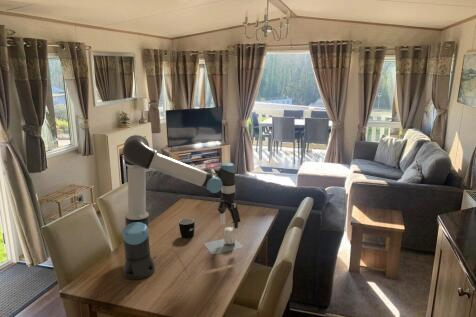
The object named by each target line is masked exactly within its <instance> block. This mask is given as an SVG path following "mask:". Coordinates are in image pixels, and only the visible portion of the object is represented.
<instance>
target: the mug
mask: <svg viewBox="0 0 476 317" xmlns="http://www.w3.org/2000/svg"><path fill="white" fill-rule="evenodd" d="M195 224H196V223H195V219H193V218H190V217H187V218H181V219H179V221H178V226H179V233H180V236H181V238H183V239H190V238H193V237H194V235H195V228H196V227H195Z"/></svg>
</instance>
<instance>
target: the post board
mask: <svg viewBox="0 0 476 317" xmlns="http://www.w3.org/2000/svg"><path fill="white" fill-rule="evenodd" d="M203 245H205V247H206V248H207V250H208V251H209V252H210V254H211V255H217V254H221V253H225V252H228V251H229V252H230V251H233V250H238V249H241V248H244V246H243V244H241V243H240V242H239V241H238V240H237V239H236V241H235V243H231V244H227V243H225V242H224V238H222V239H217V240H213V241H208V242H203Z"/></svg>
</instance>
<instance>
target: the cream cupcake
mask: <svg viewBox="0 0 476 317" xmlns="http://www.w3.org/2000/svg"><path fill="white" fill-rule="evenodd" d="M223 239H224V242H225V243H227V244H231V243H235V241H236V240H237V239H236V234H233V226H232V227H231V226H229V227H228V226H226V227H225V228H223Z"/></svg>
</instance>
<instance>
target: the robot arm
mask: <svg viewBox="0 0 476 317" xmlns="http://www.w3.org/2000/svg"><path fill="white" fill-rule="evenodd" d="M122 156H123V160H124V162H123V163H124V165H125V166H126V167H127V206H128V207H127V208H128V209H127V210H128V211H127V213H125V215H124V217H125V218H124V221H125V223H124V224H125V226H124V227H123V229H122V235H121V236H122V240H123V249H124V256H125V260H124V264H123V268H122V274H123V276H124V278H126V279H128V280H135V281H136V280H137V281H138V280H142V279H146V278H148V277H150V276H151V275H153V274H154V273H155V271H156V265H155V262H154V259H153V257H152V255H151V250H150V249H151V248H150V216H149V215H150V214H149V212H148V211H147V203H146V202H147V201H146V199H147V195H146V192H147V191H146V190H147V189H146V182H147V181H146V180H147V179H146V176H147V175H146V171H147V170H150V169H153V170H156V171H158V172H160V173H164V174H166V175H169V176H171V177H174V178H177V179H180V180H182V181H185V182H187V183H191V184H193V185H196V186H199V187H202V188H204V189H207V191H209V192H210V193H212V194H216V193H219V192H220V191H221V195H220V200H219V205H218V208H217V210H218V212H219V214H220V226H222V225H226V210H228V212H229V213H230V216H231V218H232V227H233V234H235V235H236V234H238V233H239V229H238V228H239V223H240V222H241V218H240V217H241V216H240V213H239V209H238V204H237V202H236V203H234V200H236V168H235V167H236V166H235V164H234V163H232V162H224V163H221V164H220V167H214V168H213V167H212V168H198V167H195V166H192V165H190V164H187V163H185V162H184V163H183V162H182V161H179V160H176V159H174V158H172V157H169V156H167V155H163V154H161V153H158V151H157V150H156V149H154V148H152V147H150V144H149V141H148V140H147V138H145V137H144V136H142V135H141V134H133V135H130V136H129V137H128V138H126V140H125V141H124V144H123V147H122Z"/></svg>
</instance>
